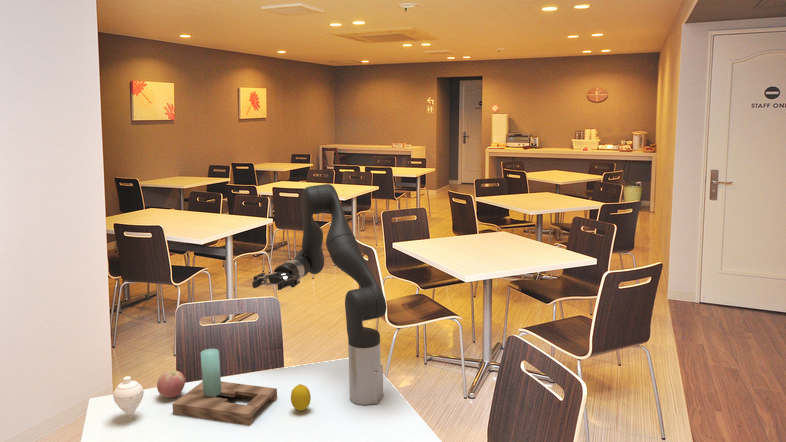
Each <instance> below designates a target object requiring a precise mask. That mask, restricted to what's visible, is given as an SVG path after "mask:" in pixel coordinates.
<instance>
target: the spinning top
mask: <svg viewBox="0 0 786 442" xmlns="http://www.w3.org/2000/svg"><path fill="white" fill-rule="evenodd" d="M144 392H145V391H144V388H143V386H142V384H140V383H139V382H138V381H136V380H132V377H131V376H128V375H127V376H124V377H123V381H122V382H120V383H119V384H117V387H116V388H115V389H114V391H113V394H112V398H113V401H114V403H115V404H116V405H117V407H118V408H119V409H121V411H123V412H124V413H125V414H126V415H127V416H129V419H132V418H131V417H132V415H133V414H134V413H135V412H136V410H137V409H138V407H139V406H140V404H141V402H142V400H143V397H144Z"/></svg>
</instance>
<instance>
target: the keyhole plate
mask: <svg viewBox="0 0 786 442" xmlns="http://www.w3.org/2000/svg"><path fill="white" fill-rule="evenodd" d="M218 396H221V397H222V398H216V397H207V396H204V395H203V382H202V381H201V382H200V383H199V384H196V386H193V388H192V389H191V390H189V391H187V393H185V394H183V395H182V396H181V397H179V398H178V399H177V400H175V401H174V402H173V403H172V414H173V415H176V416H183V417H188V418H189V417H190V418H196V419H204V420H211V421H218V422H224V423H231V424H235V425H237V424H238V425H244V426H251V425H252V424H253V423H254V421H255V420H254V414H255V413H256V412H257V411H258V410H259V409H260V408H261V407H263V406H264V405H265V404H266V403H267V402H272V403H273V402H274V403H275V402H276V401H277V400H278V388H275V387H269V386H261V385H260V386H259V385H251V384H244V383H236V382H229V381H228V382H227V381H221V393H220V394H219V395H218ZM223 397H228V398H229V397H230V398H235V397H236V398H242V399H243V398H244V399H251V400H249V402H248V403H246V404H241V403H232V402H228V398H223Z"/></svg>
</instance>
